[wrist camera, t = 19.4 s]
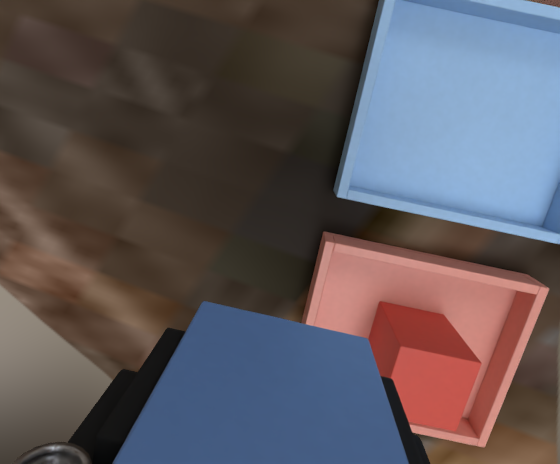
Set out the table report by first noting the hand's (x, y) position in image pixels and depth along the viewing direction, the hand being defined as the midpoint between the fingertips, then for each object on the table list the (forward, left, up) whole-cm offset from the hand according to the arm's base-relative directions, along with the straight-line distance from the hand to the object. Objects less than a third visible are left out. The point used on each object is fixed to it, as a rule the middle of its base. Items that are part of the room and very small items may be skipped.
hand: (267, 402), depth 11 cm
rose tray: (+6, -9, -17) cm, 20 cm away
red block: (+6, -9, -17) cm, 20 cm away
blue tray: (+13, +4, -17) cm, 22 cm away
